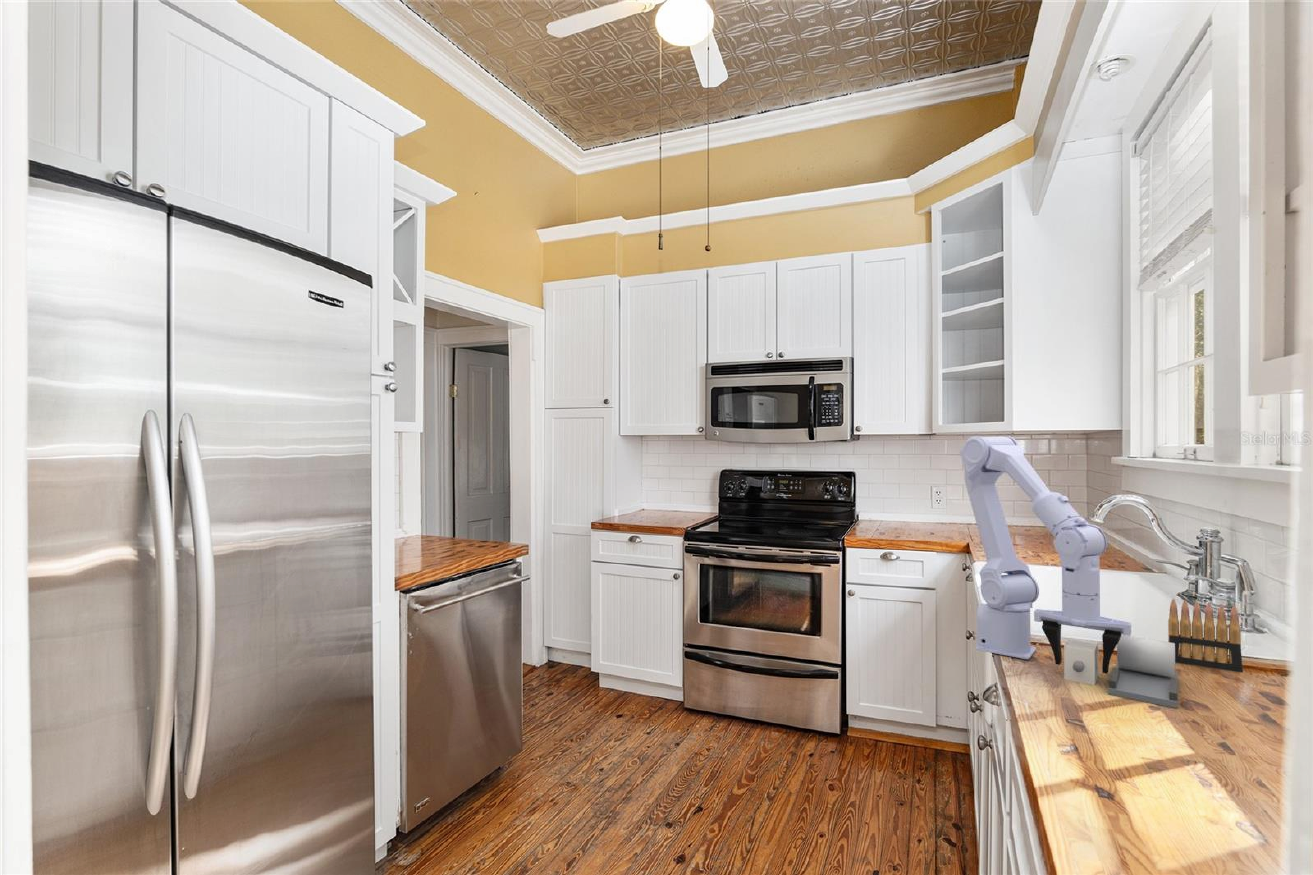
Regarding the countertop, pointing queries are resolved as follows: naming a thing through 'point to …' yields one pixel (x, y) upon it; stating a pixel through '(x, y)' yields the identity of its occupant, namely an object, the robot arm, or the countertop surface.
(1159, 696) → the motor mount
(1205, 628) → the ammunition clip
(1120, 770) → the countertop surface
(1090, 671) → the block
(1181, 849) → the countertop surface
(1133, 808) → the countertop surface
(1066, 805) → the countertop surface
